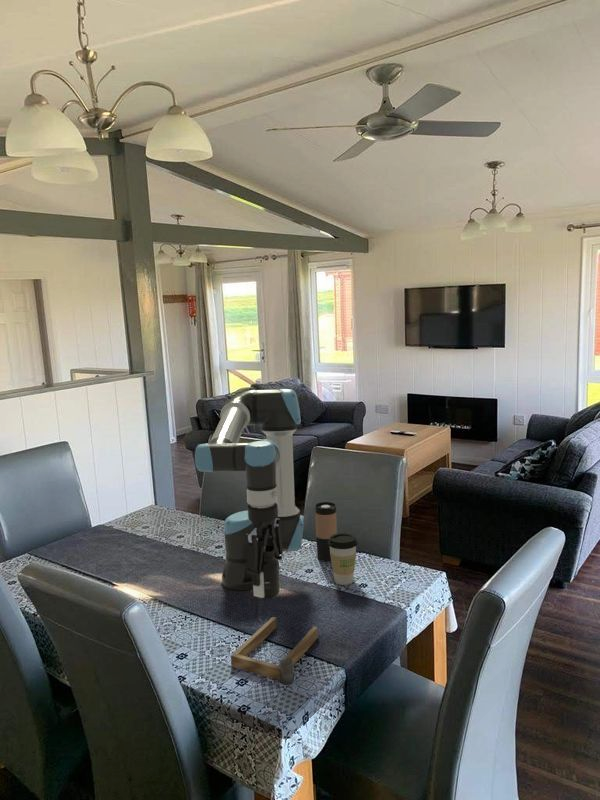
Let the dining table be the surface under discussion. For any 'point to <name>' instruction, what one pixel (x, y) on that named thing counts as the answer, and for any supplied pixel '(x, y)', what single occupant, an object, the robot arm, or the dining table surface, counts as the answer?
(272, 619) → the bay
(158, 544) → the dining table surface
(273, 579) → the supplement bottle
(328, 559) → the travel mug
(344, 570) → the coffee cup
